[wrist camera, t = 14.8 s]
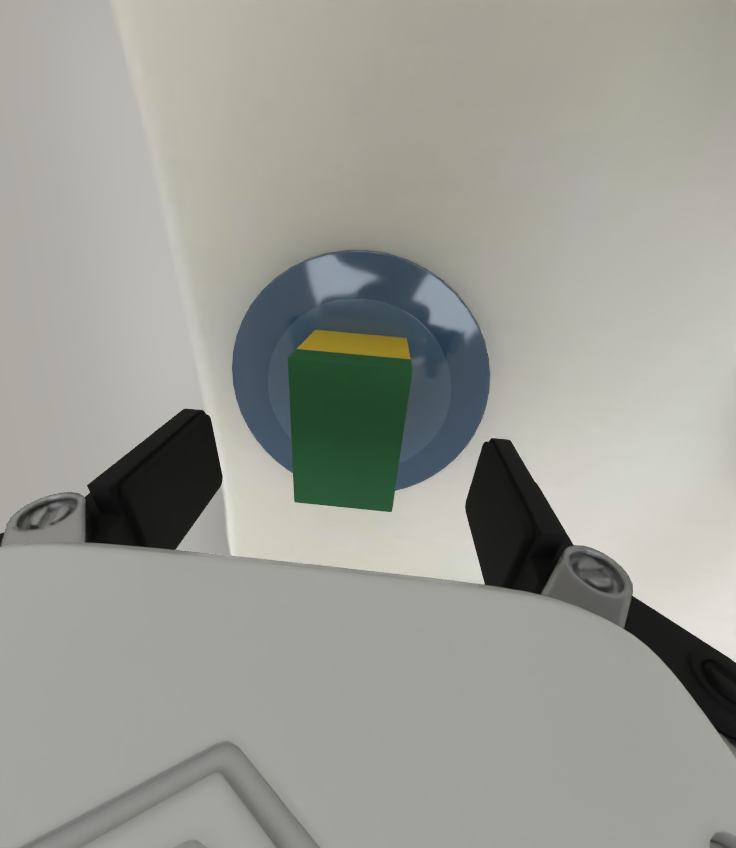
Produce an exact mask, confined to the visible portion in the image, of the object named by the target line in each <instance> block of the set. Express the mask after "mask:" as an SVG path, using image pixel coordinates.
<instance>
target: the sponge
mask: <svg viewBox="0 0 736 848" xmlns="http://www.w3.org/2000/svg"><path fill="white" fill-rule="evenodd" d="M412 371H413V369H412V363H411V359H410V353H409V348H408V342H407V338H402V337H391V336H380V335H369V334H357V333H346V332H335V331H324V330H315V331H314V332H313V333H312V334H311V335H310V336H309V337H308V338H307V339H306V340H305V341H304V342H303V343H302V344H301V345H300V346H299V347H298V348H297V349H296V350H295V351H294V352H293V353H292V354H291V355H290V356H289V357H288V376H289V397H290V418H291V439H292V460H293V481H294V501H295V502H298V503H308V504H318V505H328V506H337V507H347V508H357V509H367V510H377V511H387V512H391V511H392V507H393V500H394V494H395V487H396V480H397V473H398V466H399V459H400V453H401V446H402V439H403V432H404V425H405V418H406V412H407V405H408V398H409V391H410V384H411V377H412Z"/></svg>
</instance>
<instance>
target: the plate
mask: <svg viewBox="0 0 736 848" xmlns="http://www.w3.org/2000/svg"><path fill="white" fill-rule="evenodd" d="M315 330H324V331H335V332H346V333H357V334H369V335H380V336H391V337H402V338H407V342H408V348H409V353H410V359H411V363H412V369H413V371H412V377H411V384H410V391H409V398H408V405H407V412H406V418H405V425H404V432H403V439H402V446H401V453H400V459H399V466H398V473H397V480H396V487H395V491H396V490H400V489H403V488H407V487H410V486H412V485H415V484H417V483H420V482H422V481H424V480H426V479H428V478H430V477H431V476H433V475H435V474H436V473H438V472H439V471H441V470H442V469H444V468H445V467H446V466H447V465H448V464H450V463H451V462H452V461H453V460H454V459H455V458H456V457H457V456H458V455H459V454H460V453H461V452H462V451H463V449H464V448H465V447H466V446H467V444H468V443H469V441H470V440H471V438H472V437H473V436H474V434H475V432H476V430H477V428H478V426H479V424H480V422H481V419H482V417H483V414H484V411H485V408H486V404H487V399H488V394H489V384H490V368H489V358H488V353H487V349H486V345H485V341H484V338H483V336H482V333H481V331H480V328H479V326H478V324H477V322H476V320H475V318H474V317H473V315H472V313H471V312H470V310H469V308H468V307H467V306H466V304H465V303H464V302H463V301H462V300H461V298H460V297H459V296H458V295H457V293H456V292H455V291H453V290H452V289H451V288H450V287H449V286H448V285H447V284H446V283H445V282H444V281H443V280H441V279H440V278H438V277H437V276H436V275H434V274H433V273H431V272H430V271H428V270H427V269H425V268H423V267H421V266H419V265H417V264H415V263H413V262H411V261H409V260H406V259H403V258H400V257H397V256H394V255H390V254H387V253H380V252H374V251H364V250H346V251H339V252H333V253H326V254H323V255H320V256H317V257H313V258H310V259H307V260H305V261H303V262H301V263H299V264H297V265H295V266H293V267H291V268H289V269H288V270H286V271H285V272H283V273H282V274H281V275H279V276H278V277H276V278H275V279H274V280H273V281H272V282H271V283H270V284H269V285H267V286H266V287H265V288H264V289H263V290H262V291H261V293H260V294H259V295H258V296H257V298H256V299H255V300H254V302H253V303H252V304H251V306H250V308H249V309H248V311H247V313H246V315H245V317H244V318H243V320H242V323H241V326H240V328H239V331H238V334H237V337H236V342H235V346H234V351H233V364H232V372H233V385H234V389H235V394H236V399H237V402H238V405H239V408H240V411H241V413H242V415H243V417H244V420H245V422H246V424H247V426H248V427H249V429H250V431H251V432H252V434H253V435H254V437H255V438H256V440H257V441H258V442H259V443H260V444H261V446H262V447H263V448H264V449H265V451H267V452H268V453H269V454H270V455H271V456H272V457H273V458H274V459H275V460H276V461H277V462H278V463H280V464H281V465H282V466H284V467H285V468H286V469H287V470H289V471H291V472H292V473H293V460H292V439H291V418H290V397H289V376H288V357H289V356H290V355H291V354H292V353H293V352H294V351H295V350H296V349H297V348H298V347H299V346H300V345H301V344H302V343H303V342H304V341H305V340H306V339H307V338H308V337H309V336H310V335H311V334H312V333H313V332H314V331H315Z"/></svg>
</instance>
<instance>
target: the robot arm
mask: <svg viewBox="0 0 736 848" xmlns="http://www.w3.org/2000/svg"><path fill="white" fill-rule="evenodd" d="M221 484H222V472H221V467H220V462H219V457H218V452H217V447H216V442H215V437H214V432H213V427H212V422H211V418H210V416H209V415H206V413H205V412H204V411H203V410H194V409H184V410H182V411H181V412H179V413H178V414H177V415H176V416H174V417H173V418H172V419H171V420H169V421H168V422H167V423H165V424H164V425H163V426H162V427H161V428H159V429H158V430H157V431H155V432H154V433H153V434H152V435H150V436H149V437H148V438H146V439H145V440H144V441H143V442H142V443H140V444H139V445H138V446H136V447H135V448H134V449H133V450H131V451H130V452H129V453H128V454H126V455H125V456H124V457H123V458H121V459H120V460H119V461H117V463H115V464H114V465H112V466H111V467H110V468H109V469H107V470H106V471H105V472H104V473H102V474H101V475H100V476H98V477H97V478H96V479H95V480H93V481H92V482H91V483H90V484H88V485H87V486H88V488H89V491H90V493H89V494H88V495H87V496H86V497H84V496H82V495H81V494H79V493H73V492H66V493H58V494H53V495H49V496H46V497H44V498H40V499H38V500H36V501H34V502H32V503H30V504H28V505H26V506H24V507H23V508H21V509H20V510H18V511H17V512H16V513H15V514H14V515H13V516H12V517H11V518H10V520H9V521H8V523H7V526H6V529H5V532H4V533H1V534H0V848H736V663H735V662H734V661H732V660H731V659H730V658H728V657H727V656H725V655H724V654H722V653H720V652H719V651H717V650H716V649H714V648H713V647H711V646H710V645H708V644H706V643H705V642H703V641H702V640H700V639H699V638H697V637H696V636H694V635H692V634H691V633H689V632H688V631H686V630H685V629H683V628H682V627H680V626H678V625H677V624H675V623H674V622H672V621H671V620H669V619H668V618H666V617H664V616H663V615H661V614H660V613H658V612H657V611H655V610H654V609H652V608H650V607H649V606H647V605H646V604H644V603H643V602H641V601H640V600H638V599H637V598H635V597H633V596H632V594H633V584H632V582H631V580H630V578H629V576H628V574H627V573H626V572H625V571H624V569H623V568H622V567H621V566H620V565H619V564H617V563H616V562H615V561H614V560H613V559H611V558H610V557H608V556H607V555H605V554H604V553H602V552H600V551H597V550H595V549H593V548H590V547H586V546H577V545H573V544H572V542H571V540H570V539H569V537H568V535H567V533H566V532H565V530H564V528H563V527H562V525H561V523H560V522H559V520H558V518H557V517H556V515H555V513H554V511H553V510H552V508H551V506H550V505H549V503H548V501H547V500H546V498H545V496H544V495H543V493H542V491H541V490H540V488H539V486H538V485H537V484H536V482H534V480H533V478H532V476H531V475H530V473H529V471H528V470H527V468H526V466H525V465H524V463H523V461H522V459H521V458H520V456H519V454H518V453H517V451H516V449H515V447H514V446H513V444H512V442H511V441H510V440H506V439H496V438H491V439H490V441H489V442H484V444H483V446H482V450H481V453H480V456H479V460H478V463H477V466H476V470H475V473H474V476H473V480H472V483H471V486H470V490H469V493H468V496H467V500H466V505H465V509H466V514H467V518H468V522H469V526H470V529H471V533H472V537H473V541H474V545H475V548H476V552H477V556H478V560H479V563H480V567H481V571H482V575H483V578H484V582H485V585H481V584H474V583H466V582H458V581H451V580H443V579H435V578H426V577H418V576H409V575H400V574H392V573H383V572H374V571H365V570H357V569H348V568H339V567H330V566H321V565H311V564H302V563H293V562H284V561H275V560H265V559H256V558H247V557H237V556H227V555H218V554H208V553H198V552H189V551H179V550H175V549H176V548H177V547H178V545H179V544H180V542H181V541H182V540H183V538H184V536H185V535H186V534H187V533H188V531H189V530H190V528H191V527H192V526H193V524H194V523H195V521H196V520H197V519H198V517H199V516H200V514H201V513H202V512H203V510H204V509H205V507H206V506H207V505H208V503H209V502H210V500H211V499H212V497H213V496H214V495H215V493H216V492H217V490H218V489H219V488H220V486H221Z"/></svg>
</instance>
